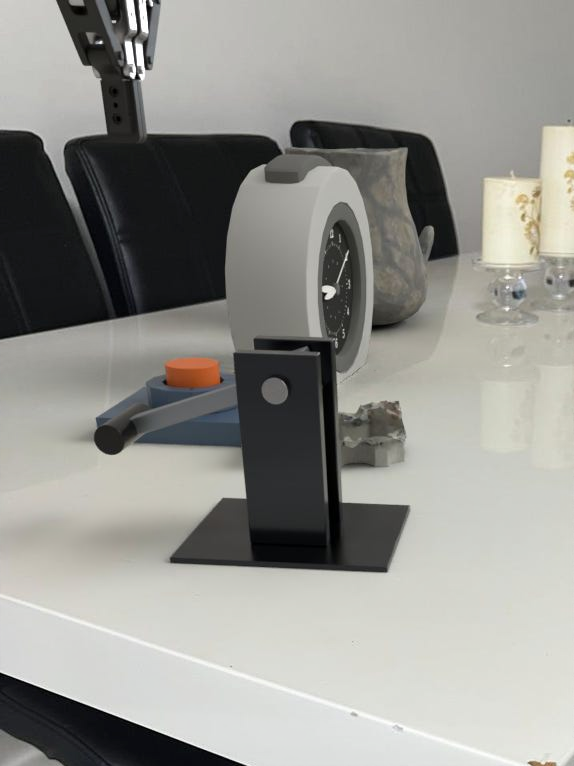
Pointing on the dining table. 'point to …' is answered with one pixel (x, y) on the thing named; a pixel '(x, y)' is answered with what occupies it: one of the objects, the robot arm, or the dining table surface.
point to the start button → (192, 372)
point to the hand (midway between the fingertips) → (128, 142)
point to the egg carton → (372, 435)
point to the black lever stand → (292, 473)
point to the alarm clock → (301, 258)
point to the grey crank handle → (160, 417)
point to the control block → (196, 431)
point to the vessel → (387, 228)
